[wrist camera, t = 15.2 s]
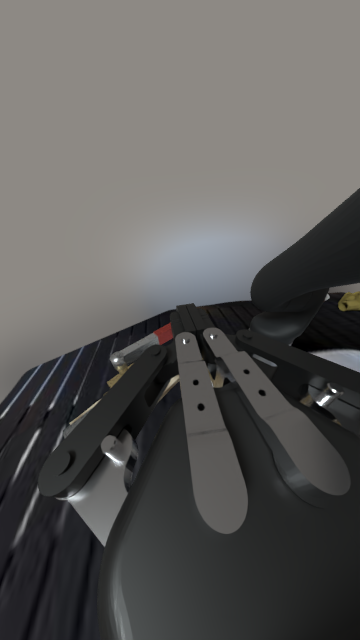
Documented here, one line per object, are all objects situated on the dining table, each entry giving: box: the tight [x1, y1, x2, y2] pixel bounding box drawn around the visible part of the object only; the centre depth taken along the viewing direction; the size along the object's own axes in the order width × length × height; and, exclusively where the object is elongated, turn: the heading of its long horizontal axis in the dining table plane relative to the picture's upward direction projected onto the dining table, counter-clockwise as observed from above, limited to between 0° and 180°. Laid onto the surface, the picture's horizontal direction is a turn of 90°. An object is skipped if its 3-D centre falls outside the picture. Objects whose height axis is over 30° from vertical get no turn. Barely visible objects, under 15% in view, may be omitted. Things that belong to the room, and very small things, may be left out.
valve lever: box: [110, 323, 173, 370], centre depth 37 cm, size 20×3×3 cm, turn 131°
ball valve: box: [338, 292, 360, 311], centre depth 67 cm, size 13×10×10 cm
